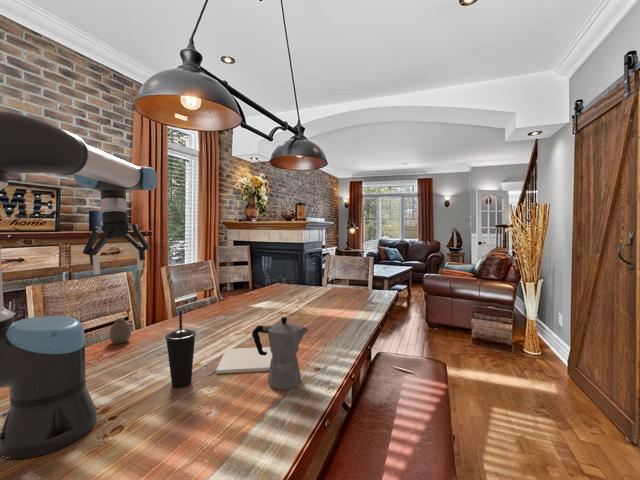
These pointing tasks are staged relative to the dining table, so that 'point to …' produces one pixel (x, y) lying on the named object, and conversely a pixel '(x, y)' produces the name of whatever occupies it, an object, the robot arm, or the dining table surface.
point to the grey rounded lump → (120, 331)
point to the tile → (244, 360)
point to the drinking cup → (181, 355)
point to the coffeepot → (282, 353)
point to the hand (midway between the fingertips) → (118, 272)
